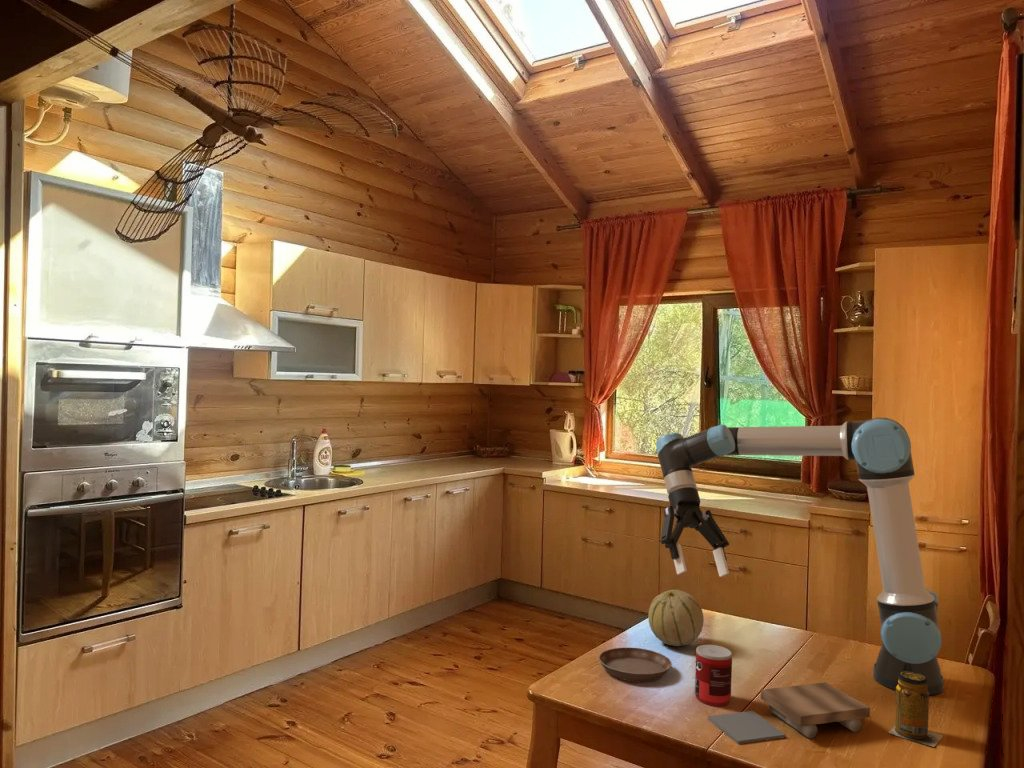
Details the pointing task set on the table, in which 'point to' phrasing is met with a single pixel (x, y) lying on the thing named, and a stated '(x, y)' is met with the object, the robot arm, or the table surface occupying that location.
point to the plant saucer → (635, 664)
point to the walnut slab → (815, 707)
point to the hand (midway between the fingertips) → (703, 574)
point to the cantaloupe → (675, 618)
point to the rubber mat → (746, 727)
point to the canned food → (713, 675)
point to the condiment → (913, 710)
